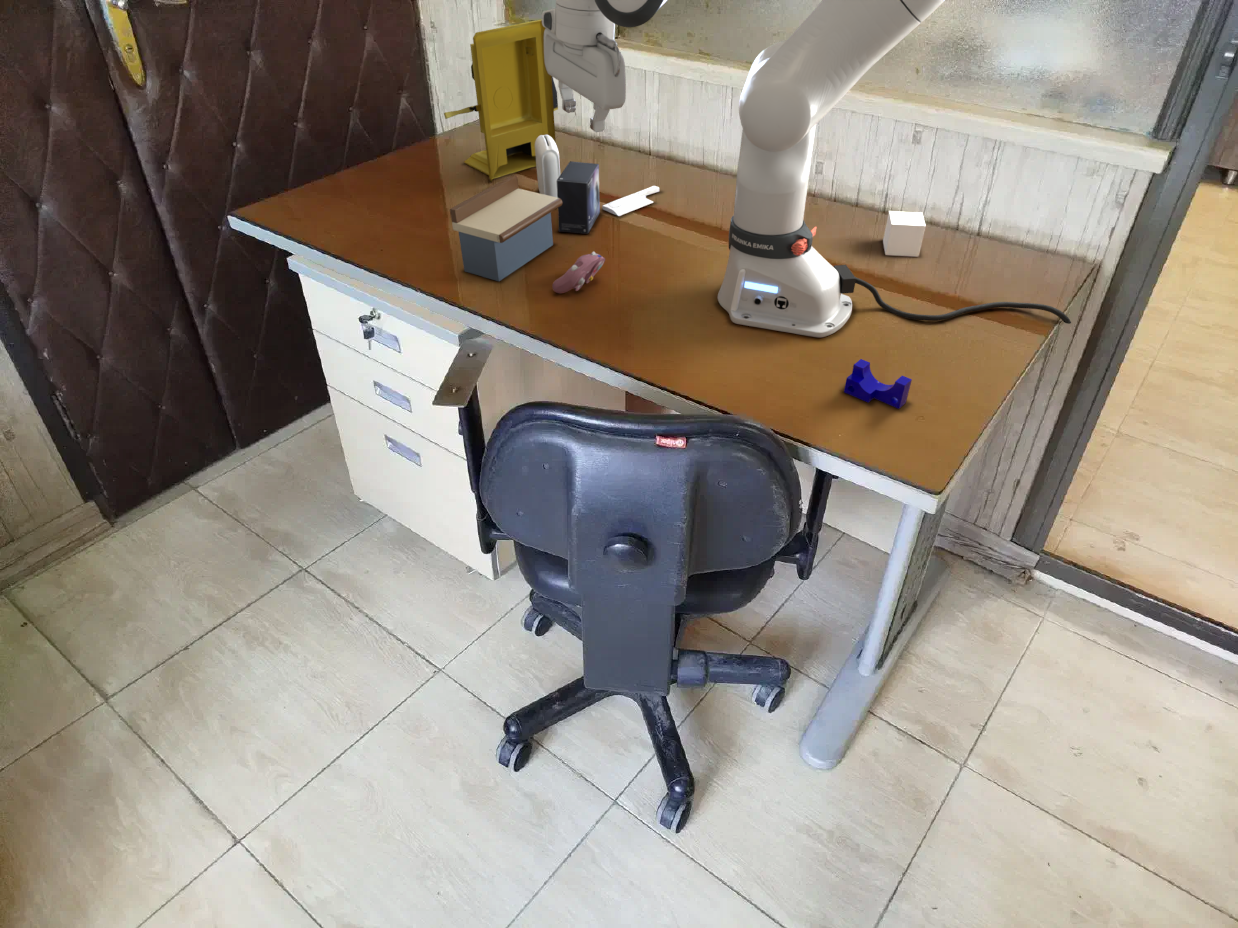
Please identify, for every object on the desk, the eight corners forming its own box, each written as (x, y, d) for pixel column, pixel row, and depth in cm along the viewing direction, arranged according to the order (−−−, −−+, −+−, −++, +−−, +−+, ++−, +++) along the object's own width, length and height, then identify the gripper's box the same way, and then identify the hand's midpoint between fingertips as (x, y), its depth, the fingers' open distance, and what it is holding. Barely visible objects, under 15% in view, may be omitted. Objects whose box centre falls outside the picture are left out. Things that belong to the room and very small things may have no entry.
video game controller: (568, 306, 144) (581, 277, 138) (548, 289, 144) (561, 261, 139) (599, 282, 150) (613, 255, 145) (580, 267, 150) (593, 238, 145)
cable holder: (843, 392, 120) (848, 369, 118) (856, 381, 122) (860, 358, 120) (894, 413, 116) (899, 390, 114) (905, 402, 118) (911, 379, 116)
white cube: (915, 242, 157) (922, 212, 153) (918, 257, 153) (926, 226, 149) (882, 240, 158) (888, 210, 154) (885, 255, 154) (891, 224, 150)
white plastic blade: (670, 196, 176) (670, 191, 175) (618, 217, 168) (618, 211, 167) (653, 189, 179) (654, 184, 178) (601, 209, 171) (601, 204, 170)
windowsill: (565, 246, 158) (561, 186, 151) (508, 286, 147) (501, 222, 139) (518, 234, 163) (512, 174, 155) (459, 271, 151) (449, 209, 143)
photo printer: (536, 188, 180) (531, 130, 172) (556, 186, 181) (552, 128, 173) (543, 207, 173) (539, 147, 165) (564, 205, 173) (560, 145, 165)
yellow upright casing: (549, 139, 204) (540, 3, 185) (584, 154, 196) (578, 13, 176) (438, 171, 189) (415, 26, 170) (471, 189, 181) (450, 38, 161)
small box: (590, 235, 162) (588, 182, 155) (557, 232, 163) (554, 180, 156) (601, 213, 170) (600, 162, 163) (571, 211, 171) (568, 160, 164)
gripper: (639, 42, 118) (633, 140, 127) (572, 8, 131) (570, 99, 140) (601, 46, 115) (597, 145, 124) (536, 11, 128) (537, 103, 137)
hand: (582, 120), depth 132 cm, fingers open, 8 cm apart
